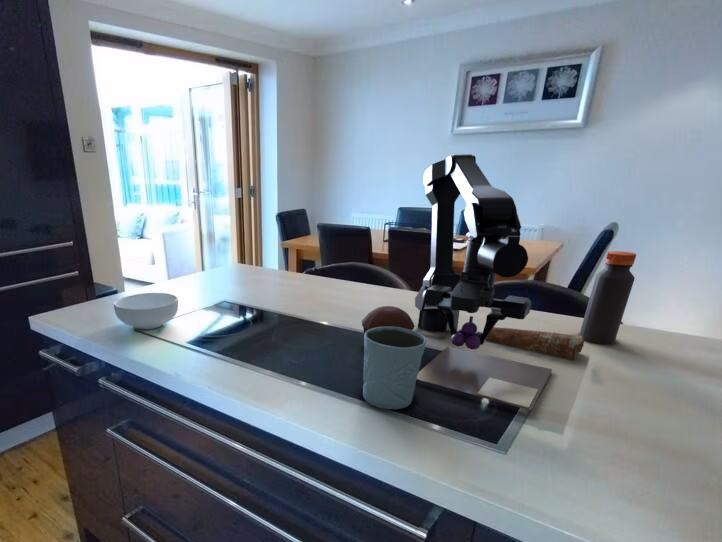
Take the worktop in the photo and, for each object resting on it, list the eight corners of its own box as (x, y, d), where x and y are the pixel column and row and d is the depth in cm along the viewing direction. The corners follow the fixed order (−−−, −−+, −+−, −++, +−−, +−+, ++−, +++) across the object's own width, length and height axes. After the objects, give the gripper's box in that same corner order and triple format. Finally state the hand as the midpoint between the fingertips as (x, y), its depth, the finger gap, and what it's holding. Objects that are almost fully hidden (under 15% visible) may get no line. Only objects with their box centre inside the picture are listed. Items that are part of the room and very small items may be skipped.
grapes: (448, 346, 90) (452, 317, 87) (456, 338, 94) (461, 310, 91) (477, 352, 87) (482, 322, 84) (485, 343, 90) (490, 314, 88)
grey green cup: (355, 385, 84) (359, 326, 80) (408, 384, 84) (416, 325, 79) (365, 412, 75) (371, 347, 70) (425, 412, 75) (435, 346, 70)
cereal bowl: (192, 320, 122) (190, 296, 120) (149, 339, 110) (145, 312, 107) (148, 312, 131) (145, 288, 128) (103, 328, 118) (99, 303, 115)
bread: (576, 366, 89) (583, 341, 87) (478, 344, 102) (482, 321, 99) (582, 357, 94) (589, 332, 91) (487, 337, 106) (491, 314, 104)
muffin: (371, 338, 107) (374, 298, 103) (417, 347, 101) (423, 305, 97) (351, 354, 98) (354, 311, 94) (400, 365, 92) (405, 320, 88)
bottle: (608, 335, 105) (634, 250, 97) (619, 345, 99) (648, 256, 91) (575, 332, 107) (598, 249, 99) (584, 342, 101) (609, 255, 93)
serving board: (411, 383, 84) (412, 376, 84) (446, 351, 98) (447, 345, 98) (529, 416, 72) (531, 409, 72) (550, 374, 86) (552, 368, 86)
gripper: (416, 267, 84) (407, 343, 90) (527, 280, 73) (508, 366, 79) (436, 257, 92) (427, 328, 98) (539, 268, 80) (521, 347, 86)
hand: (467, 341), depth 90 cm, fingers closed on grapes, 5 cm apart
